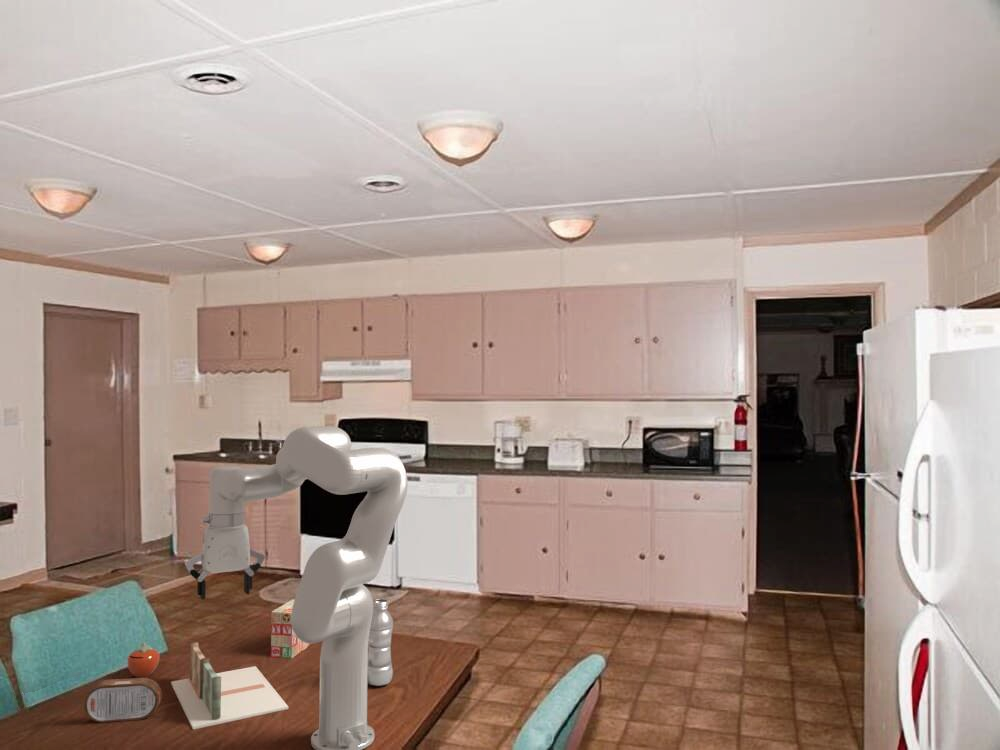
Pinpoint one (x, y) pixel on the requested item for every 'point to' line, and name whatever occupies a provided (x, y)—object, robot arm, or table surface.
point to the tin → (122, 700)
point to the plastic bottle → (380, 645)
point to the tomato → (143, 661)
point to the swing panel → (212, 691)
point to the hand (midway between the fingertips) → (224, 595)
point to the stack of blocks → (284, 633)
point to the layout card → (230, 698)
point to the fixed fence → (197, 667)
